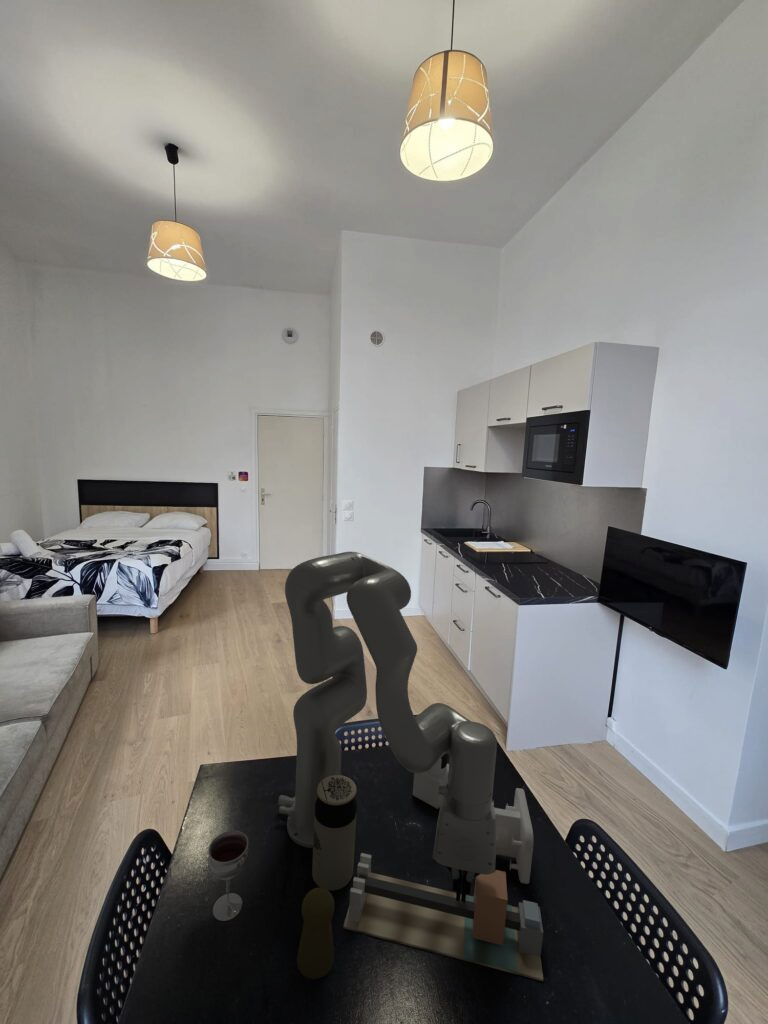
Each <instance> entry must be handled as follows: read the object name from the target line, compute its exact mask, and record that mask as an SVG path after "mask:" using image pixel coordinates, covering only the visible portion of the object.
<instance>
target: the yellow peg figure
mask: <svg viewBox="0 0 768 1024" xmlns="http://www.w3.org/2000/svg"><path fill="white" fill-rule="evenodd" d="M335 908H336V907H335V900H334V897H333V895H332V893H331V892H330V890H327V889H325V888H321V887H319V886H318V887H316V888H313V889H310V890H309V891H308V892H307V893H306V895H305V897H304V898H303V900H302V904H301V917H302V920H303V925H302V930H301V935H300V941H299V946H298V951H297V957H296V965H297V968H298V970H299V972H300V974H301V975H302V976H304V977H305V978H307V977H308V978H307V979H309V978H312V979H311V980H317V978H319V979H321V978H320V977H322V978H323V977H325V976H326V975H327V974H329V972H330V971H331V970H332V968H333V965H334V963H335V947H334V938H333V937H334V936H333V929H332V928H333V927H332V926H333V925H332V919H333V917H334V915H335V914H334V913H335Z"/></svg>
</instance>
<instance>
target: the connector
mask: <svg viewBox="0 0 768 1024" xmlns="http://www.w3.org/2000/svg"><path fill="white" fill-rule="evenodd" d="M517 908H518V913H519V917H520V928H519V931H518V930H517V938H518V950H519V952H523V953H527V954H531V955H535V956H539V957H541V956H542V947H543V939H544V929H543V928H544V927H543V923H542V922H543V921H542V915H541V908H540V906H538V902H533V901H529V900H526V899H525V900H524V899H523V900H522V902H520V901H519V902H518V906H517Z"/></svg>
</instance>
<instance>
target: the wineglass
mask: <svg viewBox="0 0 768 1024" xmlns="http://www.w3.org/2000/svg"><path fill="white" fill-rule="evenodd" d="M248 847H249V838H248V836H247V835H246V834H245V833H243V832H242V831H239V830H228V831H224V832H222V833H220V834H218V835H217V836H215V838H213V839H212V841H211V842H210V844H209V847H208V858H207V867H208V870H209V872H210V874H211V875H212V876H213V877H214V878H215V879H218V880H220V881H225V887H226V888H225V891H226V893H225V894H223V895H221V896H220V897H219V898H217V900H216V901H215V903H214V904H213V907H212V914H213V917H214V918H215V919H216V920H218V921H221V922H222V921H223V922H225V921H230V920H232V919H234V918H235V917H236V916H237V915H238V914H239V913H240V912H241V910H242V906H243V900H242V897H241V896H240V895H239V894H238V893H234V892H231V893H230V891H231V889H230V888H231V880H232V879H233V878H235V877H236V876H238V875H240V873H241V872H243V870H244V868H245V867H246V865H247V863H248V859H249V855H250V854H249V848H248Z"/></svg>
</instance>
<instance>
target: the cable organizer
mask: <svg viewBox="0 0 768 1024" xmlns="http://www.w3.org/2000/svg"><path fill="white" fill-rule="evenodd" d="M494 802H495V801H494V800H493V799H492V804H493V806H494V809H495V815H496V824H497V845H496V856H502V857H503V856H504V857H509V858H515V861H516V863H512V859H510V861H509V870H510V871H509V872H510V873H511V869H514V870H517V873H518V878H519V882H520V883H521V884H527V885H528V884H529V883H530V879H531V869H532V862H533V852H534V844H535V843H534V840H535V839H534V831H533V825H532V821H531V817H530V812H529V806H528V803H527V798H526V793H525V790H524V789H523V788H519V787H516V788H515V793H514V800H513V806H511V805H510V806H509V805H508V804H506V805H505V808H504V809H503V808H498V807H495V803H494Z"/></svg>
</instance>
